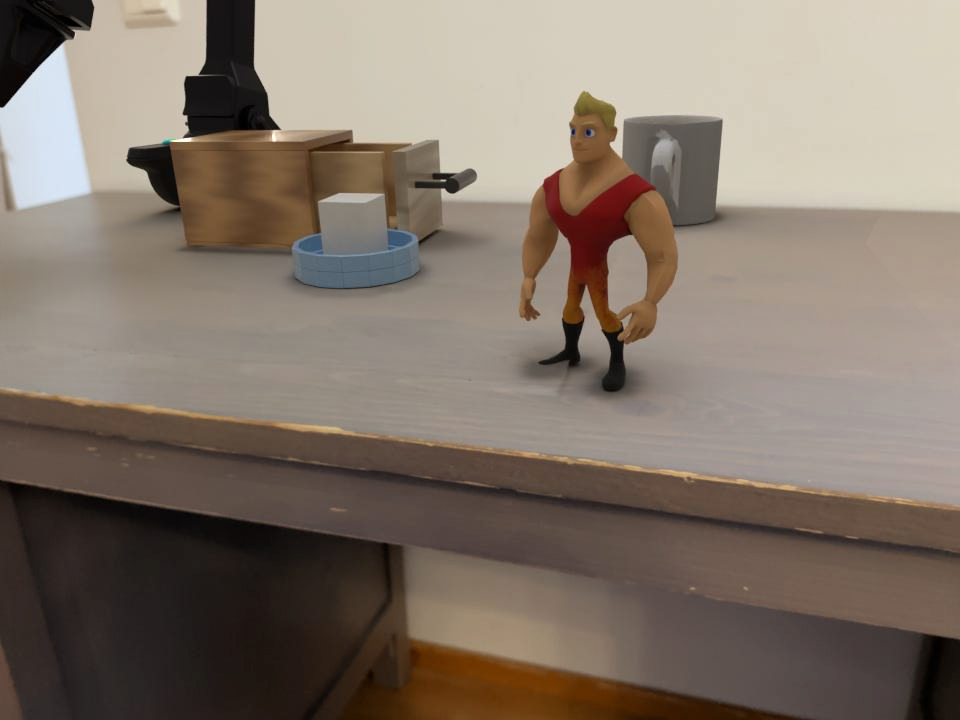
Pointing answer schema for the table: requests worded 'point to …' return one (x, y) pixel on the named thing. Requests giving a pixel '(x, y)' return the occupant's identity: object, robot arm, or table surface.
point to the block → (353, 223)
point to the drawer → (388, 180)
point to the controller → (158, 167)
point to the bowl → (356, 263)
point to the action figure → (598, 235)
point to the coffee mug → (677, 161)
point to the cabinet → (248, 186)
